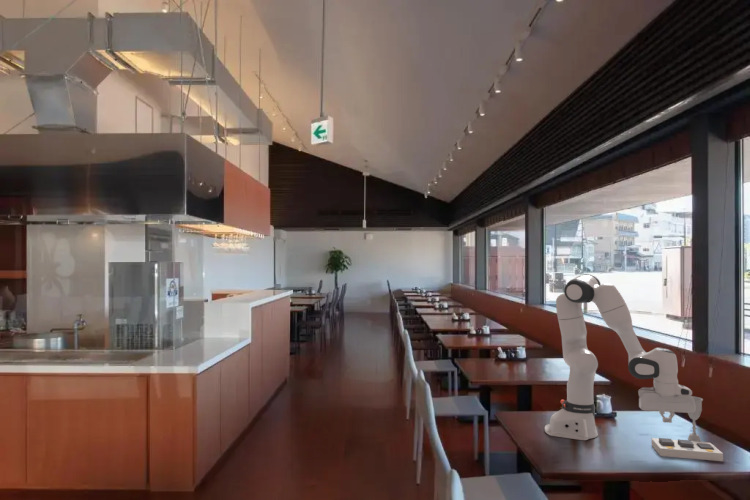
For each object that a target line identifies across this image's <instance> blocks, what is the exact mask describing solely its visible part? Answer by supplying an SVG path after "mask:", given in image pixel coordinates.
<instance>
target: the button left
mask: <svg viewBox="0 0 750 500" xmlns="http://www.w3.org/2000/svg"><path fill="white" fill-rule="evenodd" d="M658 439H659V443H660V444H661V445H662V446H674V442H673V441H672V440H673V439H672V438H666V437H665V438H663V437H659V438H658Z"/></svg>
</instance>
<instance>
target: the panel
mask: <svg viewBox="0 0 750 500" xmlns="http://www.w3.org/2000/svg"><path fill="white" fill-rule="evenodd" d="M671 440H672V441H673V442H674V446H662V445H661V444H660V443H659V438H657V437H655V438H654V437H652V438H651V446H652V448H653V449H654V450H655V452H657V454H658V455H659V456H660V457H668V458H669V457H670V458H681V459H682V458H683V459H693V460H703V461H705V460H707V461H714V462H724V453H723V452H722V451H721V450H719V448H717V447H716V445H714V444H712V442H707V441H706V442H705V441H700V442H695V441H691V440H690V441H691V442H692V443H693V444H694V448H686V447H680V446H679V445H678V439H671ZM697 443H703V444H710V445H711V446H712V447H713V448H714V450H710V449H700V448H699V447H698V446H697Z"/></svg>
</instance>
